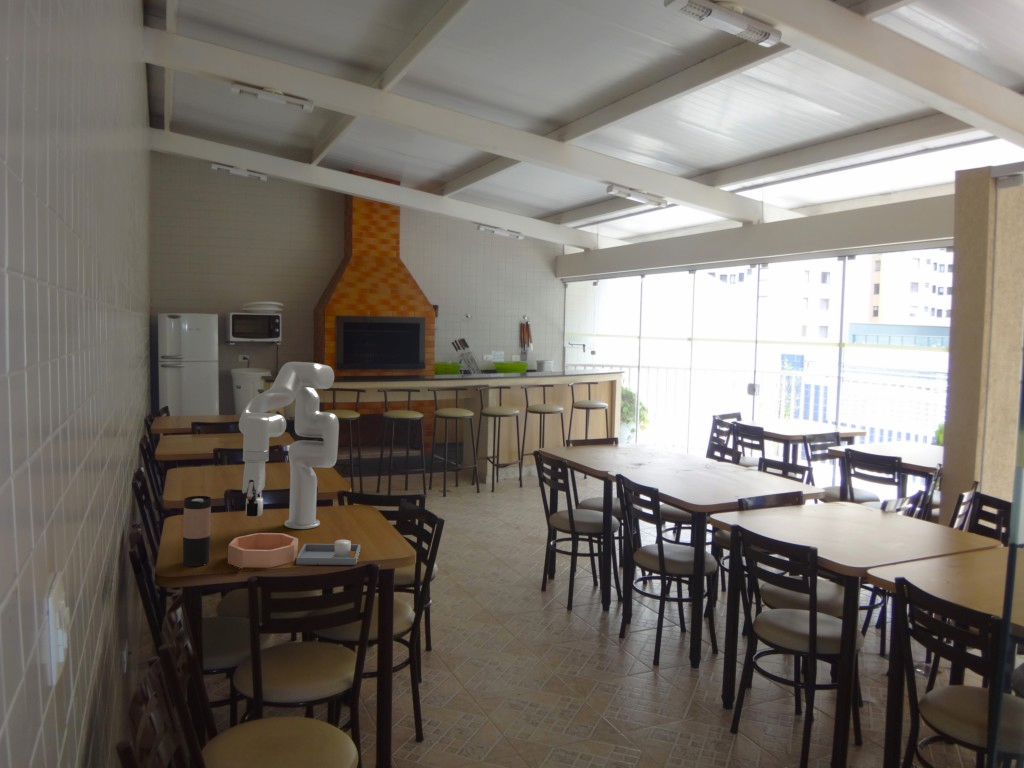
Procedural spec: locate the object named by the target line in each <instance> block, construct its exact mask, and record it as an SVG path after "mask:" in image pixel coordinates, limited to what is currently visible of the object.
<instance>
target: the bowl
mask: <svg viewBox="0 0 1024 768" xmlns="http://www.w3.org/2000/svg"><path fill="white" fill-rule="evenodd" d="M298 554H299V538H298V537H294V536H292V535H290V534H286V533H278V532H277V533H276V532H275V533H274V532H257V533H251V534H246V535H242V536H237V537H234V538H233V539H232V541H230V542H229V544H228V545H227V564H228V563H230V564H232V565H234V566H233V567H235V566H237V567H240V568H241V569H240V568H239V569H240V570H242V569H244V568H269V569H270V568H274V567H277V566H281V565H286V564H287V565H288V564H290V563H294V561H296V558H297V556H298ZM230 564H229V565H230ZM232 565H231V566H232ZM237 567H236V568H237Z"/></svg>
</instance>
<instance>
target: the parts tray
mask: <svg viewBox="0 0 1024 768" xmlns="http://www.w3.org/2000/svg"><path fill="white" fill-rule="evenodd" d="M334 548H335V543H304V544H303V546H302V547H301V549H300V551H298V554H297V556H296V558H295V561H296V562H295V564H296V565H304V566H305V565H313V566H314V565H316V566H317V564H318V565H320V566H322V565H323V566H328V565H330V566H333V565H334V566H335V565H336V566H356V565H357V563H358V560H359V557H360V553H359V552H361V544H355V543H354V544H352V543H351V551H356V554H355V557H354V558H332V557H334V556H333V555H334ZM358 556H359V557H358ZM357 559H358V560H357Z"/></svg>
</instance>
